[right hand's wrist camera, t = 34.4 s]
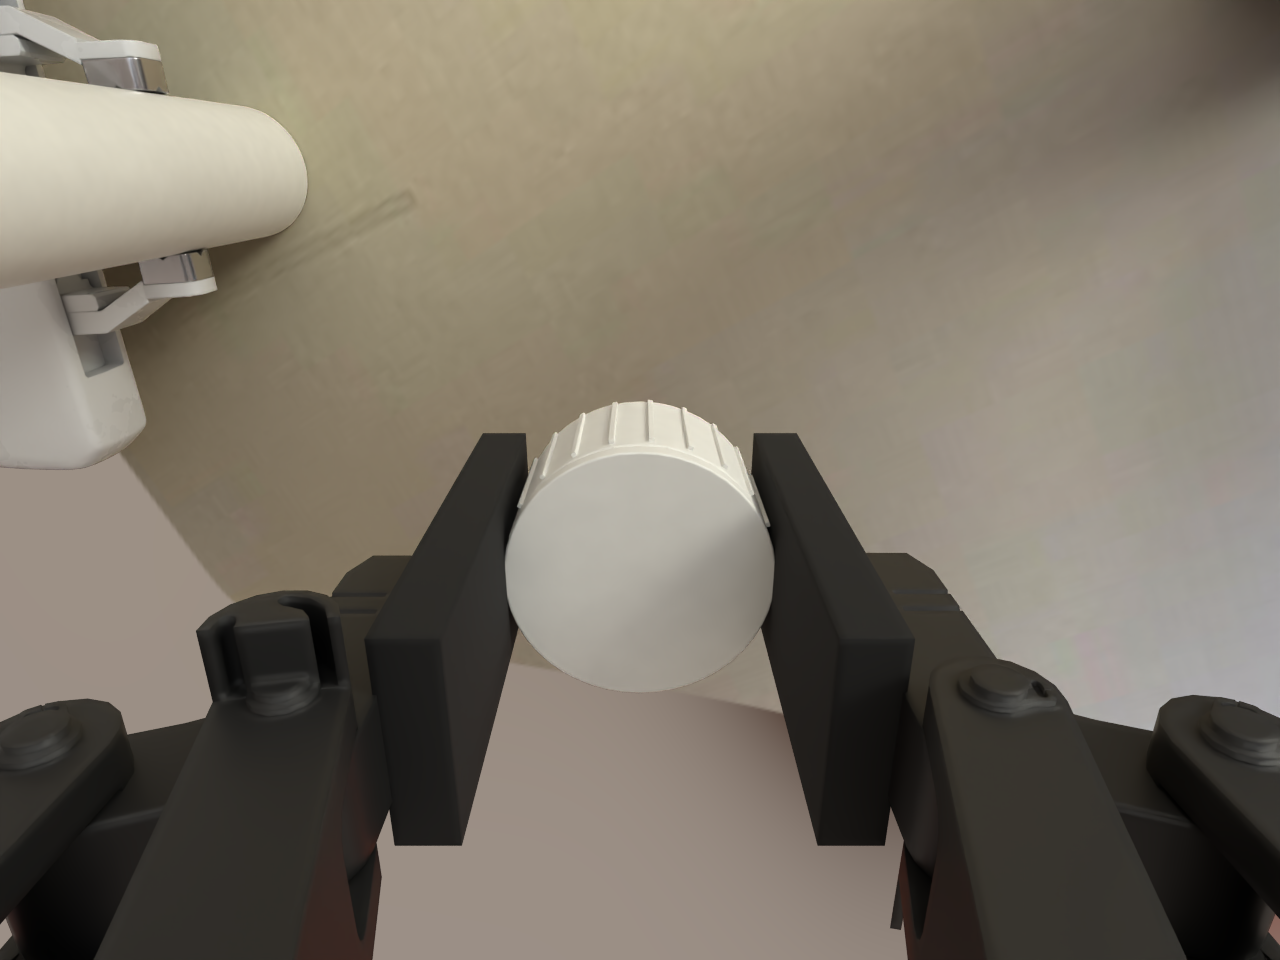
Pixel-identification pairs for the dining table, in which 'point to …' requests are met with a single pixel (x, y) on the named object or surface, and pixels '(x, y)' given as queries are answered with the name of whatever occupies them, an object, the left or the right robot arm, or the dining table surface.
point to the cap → (639, 550)
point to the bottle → (133, 177)
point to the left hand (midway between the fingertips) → (181, 172)
